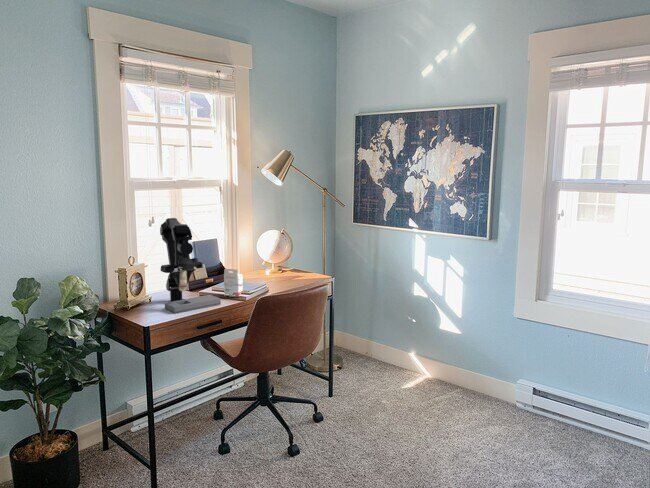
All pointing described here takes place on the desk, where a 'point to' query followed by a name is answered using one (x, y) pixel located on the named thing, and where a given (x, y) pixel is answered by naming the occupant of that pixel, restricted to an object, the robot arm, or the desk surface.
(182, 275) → the beech peg
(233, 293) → the ink cartridge box
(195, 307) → the board
